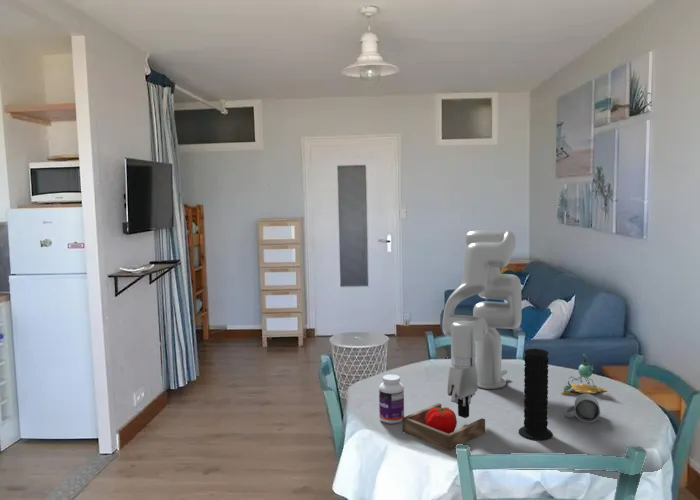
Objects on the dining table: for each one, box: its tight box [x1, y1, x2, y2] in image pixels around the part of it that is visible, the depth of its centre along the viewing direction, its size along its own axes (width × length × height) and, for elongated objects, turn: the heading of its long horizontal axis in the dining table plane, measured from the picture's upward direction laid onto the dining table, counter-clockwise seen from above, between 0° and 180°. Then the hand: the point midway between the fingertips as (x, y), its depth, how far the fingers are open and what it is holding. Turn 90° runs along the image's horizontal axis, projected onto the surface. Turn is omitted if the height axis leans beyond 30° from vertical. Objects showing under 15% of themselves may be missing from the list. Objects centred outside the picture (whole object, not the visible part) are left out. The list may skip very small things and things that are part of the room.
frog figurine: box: [560, 353, 608, 396], centre depth 209 cm, size 10×18×15 cm, turn 93°
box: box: [401, 402, 486, 452], centre depth 177 cm, size 17×18×4 cm
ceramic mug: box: [563, 393, 601, 424], centre depth 186 cm, size 11×8×8 cm
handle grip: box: [517, 348, 554, 442], centre depth 174 cm, size 10×26×10 cm
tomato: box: [425, 406, 458, 434], centre depth 176 cm, size 9×10×8 cm
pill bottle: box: [378, 374, 405, 425], centre depth 187 cm, size 8×8×14 cm
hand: (463, 416), depth 184 cm, fingers closed
